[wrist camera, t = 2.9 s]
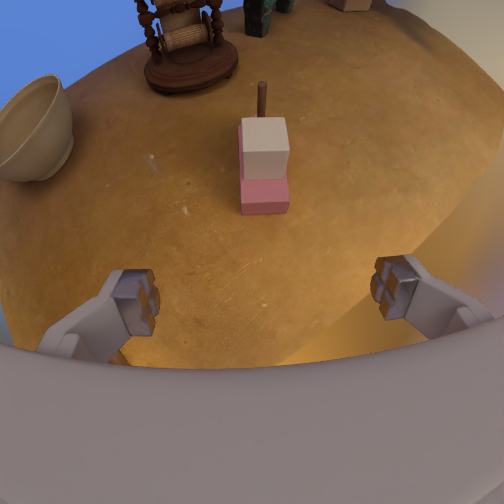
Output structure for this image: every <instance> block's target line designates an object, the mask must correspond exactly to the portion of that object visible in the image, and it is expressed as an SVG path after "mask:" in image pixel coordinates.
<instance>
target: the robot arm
mask: <svg viewBox="0 0 504 504" xmlns="http://www.w3.org/2000/svg"><path fill="white" fill-rule="evenodd" d="M374 267H375V269H376V271H377V272H376V273H375V274H374V275H373V276H372V278H371V283H370V291H371V294H372V297H373V299H374V300H375V301H376V302H378V303H379V304H380V306H379V310H380V312H381V314H382V315H383V317H384V319H385V320H393V319H400V318H404V319H405V320H406V321H407V322H409V323H410V324H411V325H412V326H413V327H415V328H416V329H417V330H418V331H420V332H421V333H422V334H423V335H425V336H426V337H427V338H428V339H429V340H427V341H424V342H420V343H416V344H412V345H408V346H403V347H399V348H395V349H390V350H386V351H381V352H375V353H370V354H365V355H359V356H353V357H347V358H341V359H335V360H327V361H320V362H311V363H304V364H293V365H282V366H270V367H254V368H231V369H173V368H152V367H138V366H126V365H116V364H107V362H108V361H109V360H110V359H111V358H112V356H113V355H114V354H115V353H116V352H117V351H118V350H119V349H120V348H121V347H122V346H123V345H124V344H125V343H126V342H127V341H128V340H129V339H130V336H152V335H153V331H154V328H155V324H156V322H155V319H154V317H155V316H156V315H158V314H159V310H160V294H159V291H158V288H157V287H155V286H154V285H153V283H154V281H155V277H154V273H153V271H152V270H151V269H126V270H125V269H118V270H112V271H111V273H110V275H109V276H108V278H107V280H106V281H105V283H104V285H103V287H102V288H101V290H100V292H99V294H98V296H97V297H92V298H91V299H89V300H88V301H87V302H85V303H84V304H82V305H81V306H79V307H78V308H76V309H75V310H73V311H72V312H71V313H69V314H68V315H66V316H65V317H63V318H62V319H61V320H59V321H58V322H56V323H55V324H54V325H52V326H51V327H49V328H48V329H47V330H46V332H45V334H44V336H43V338H42V339H41V341H40V343H39V345H38V347H37V349H36V351H35V352H34V351H30V350H26V349H21V348H17V347H13V346H9V345H6V344H2V343H0V504H504V315H503V316H501V317H498V318H496V319H494V317H493V316H492V315H491V314H490V312H489V311H488V310H487V309H486V307H485V306H484V305H483V303H482V302H481V301H480V300H478V299H476V298H474V297H473V296H471V295H469V294H467V293H465V292H463V291H461V290H460V289H458V288H456V287H454V286H452V285H450V284H448V283H446V282H444V281H442V280H440V279H438V278H436V277H432V276H431V275H430V274H429V272H428V271H427V270H426V269H425V268H424V267H423V265H422V264H421V263H420V262H419V261H418V260H417V259H416V257H415V256H414V255H412V254H407V255H400V256H388V257H378V258H377V260H376V263H375V266H374Z"/></svg>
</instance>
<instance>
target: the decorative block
mask: <svg viewBox="0 0 504 504" xmlns="http://www.w3.org/2000/svg"><path fill="white" fill-rule="evenodd" d="M371 1H372V0H329V2H328V4H329V5H331V6H333V7H335V8H337V9H339V10H341V11H343V12H345V11H368V10H369V8H370V5H371Z"/></svg>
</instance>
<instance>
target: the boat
mask: <svg viewBox="0 0 504 504" xmlns="http://www.w3.org/2000/svg"><path fill="white" fill-rule="evenodd" d="M266 92H267V83H266V82H264V81H260V82H259V83H258V101H257V114H256V115H254V116H253V117H252V118H242V119H241V121H242V125H239V126H238V137H239V164H240V190H241V209H242V215H255V214H280V213H286V212H287V209H288V205H289V202H290V198H289V189H288V181H287V173H286V165H287V161H288V156H289V152H290V149H289V142H288V135H287V129H286V123H285V118H284V117H265V107H266Z"/></svg>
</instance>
